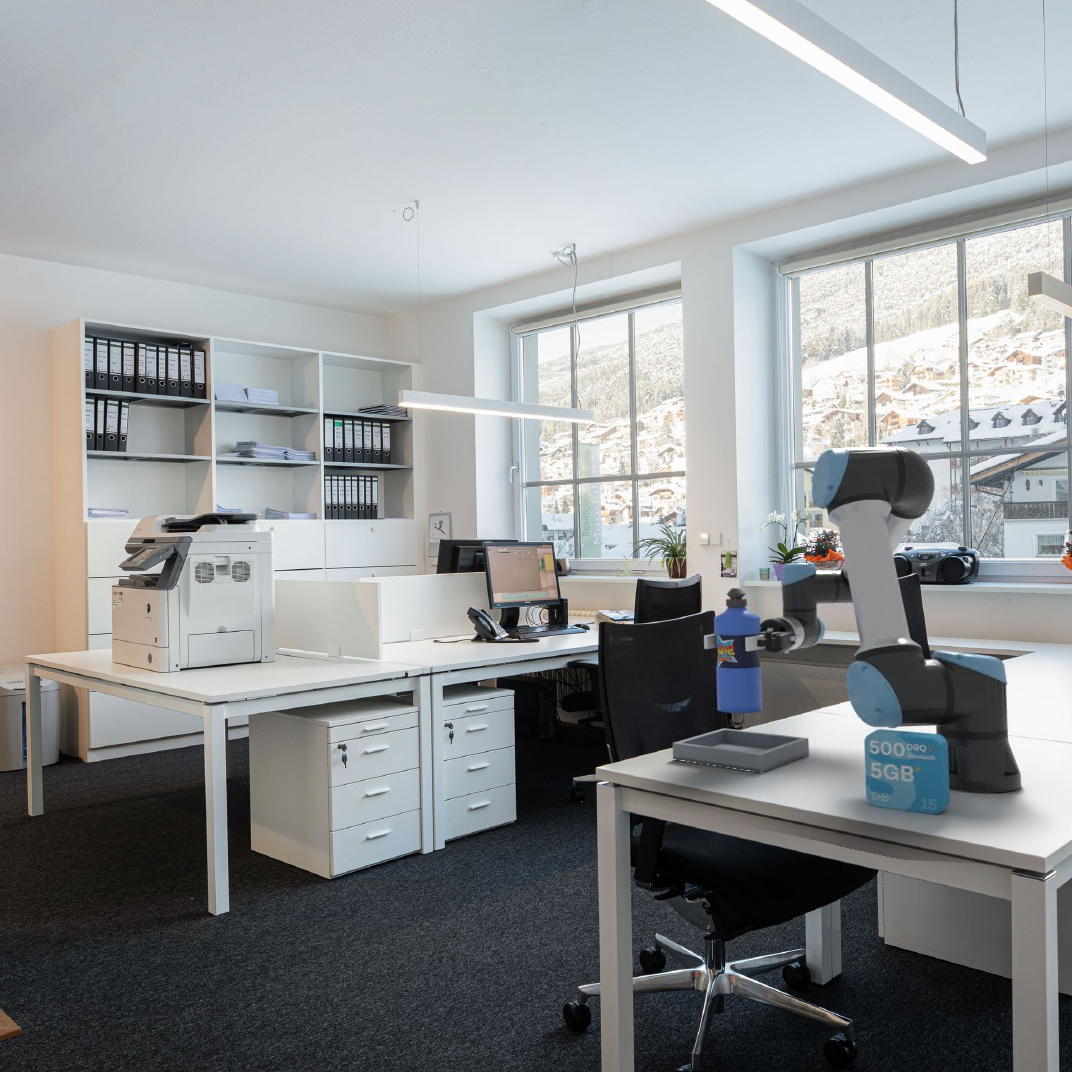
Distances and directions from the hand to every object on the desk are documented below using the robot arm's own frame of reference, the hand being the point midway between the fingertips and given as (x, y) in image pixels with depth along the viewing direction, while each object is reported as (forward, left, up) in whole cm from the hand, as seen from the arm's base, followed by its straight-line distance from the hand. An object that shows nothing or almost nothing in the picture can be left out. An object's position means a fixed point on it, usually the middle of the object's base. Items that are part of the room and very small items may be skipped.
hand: (726, 643), depth 188 cm
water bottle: (+4, -2, -14) cm, 15 cm away
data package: (-31, -29, -24) cm, 49 cm away
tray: (+4, -2, -24) cm, 24 cm away
